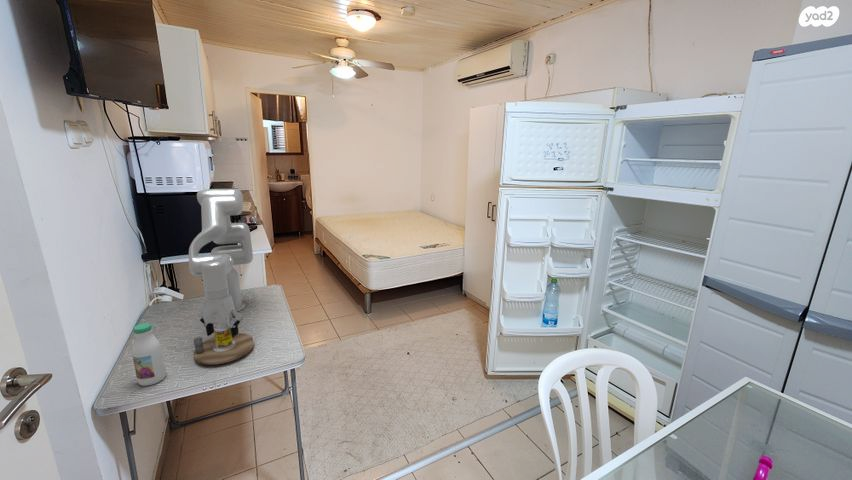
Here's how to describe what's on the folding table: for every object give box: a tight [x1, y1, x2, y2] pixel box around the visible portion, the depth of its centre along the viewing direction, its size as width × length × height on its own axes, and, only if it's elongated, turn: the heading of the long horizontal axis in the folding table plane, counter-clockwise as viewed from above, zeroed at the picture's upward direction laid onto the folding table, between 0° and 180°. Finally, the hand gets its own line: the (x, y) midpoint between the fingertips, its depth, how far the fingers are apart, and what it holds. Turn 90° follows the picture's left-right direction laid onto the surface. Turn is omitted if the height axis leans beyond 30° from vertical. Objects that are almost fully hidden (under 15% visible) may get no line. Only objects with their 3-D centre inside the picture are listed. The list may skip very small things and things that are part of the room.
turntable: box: [193, 332, 254, 366], centre depth 135 cm, size 20×20×7 cm
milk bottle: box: [131, 322, 167, 387], centre depth 117 cm, size 8×8×20 cm
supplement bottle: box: [213, 323, 233, 349], centre depth 134 cm, size 6×6×10 cm
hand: (222, 334), depth 134 cm, fingers open, 9 cm apart
